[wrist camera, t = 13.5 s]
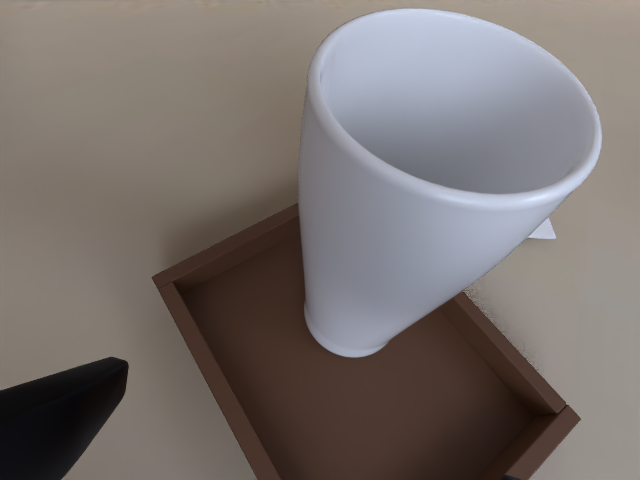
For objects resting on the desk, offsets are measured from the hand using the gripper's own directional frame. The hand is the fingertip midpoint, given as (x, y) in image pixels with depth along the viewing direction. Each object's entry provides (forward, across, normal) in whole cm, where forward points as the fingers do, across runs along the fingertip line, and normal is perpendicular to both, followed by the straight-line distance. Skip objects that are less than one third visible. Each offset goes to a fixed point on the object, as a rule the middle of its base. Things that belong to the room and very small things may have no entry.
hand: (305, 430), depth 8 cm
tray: (+11, -2, +4) cm, 12 cm away
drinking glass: (+12, -1, +2) cm, 13 cm away
